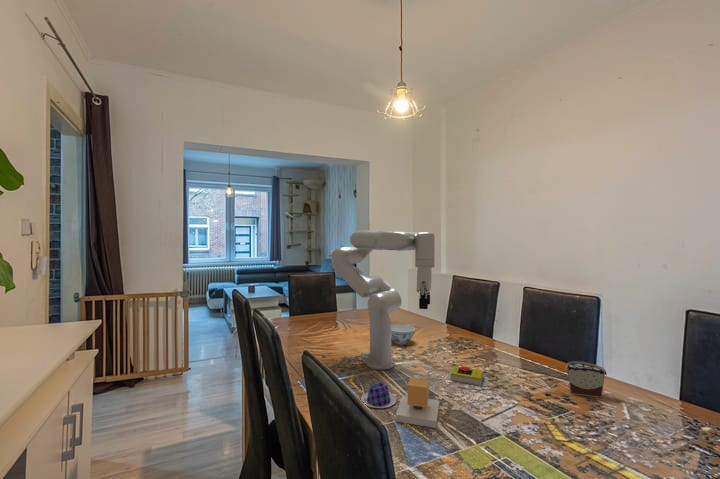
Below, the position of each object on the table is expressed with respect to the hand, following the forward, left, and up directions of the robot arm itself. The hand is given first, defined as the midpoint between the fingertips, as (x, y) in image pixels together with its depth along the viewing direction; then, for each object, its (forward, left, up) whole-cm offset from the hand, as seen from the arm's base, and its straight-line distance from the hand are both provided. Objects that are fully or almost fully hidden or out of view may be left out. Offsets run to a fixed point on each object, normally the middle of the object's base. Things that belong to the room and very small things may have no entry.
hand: (424, 306), depth 130 cm
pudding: (-13, -23, -29) cm, 39 cm away
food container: (+56, +5, -28) cm, 63 cm away
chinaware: (-17, +42, -28) cm, 54 cm away
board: (+1, -28, -28) cm, 40 cm away
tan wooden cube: (+1, -28, -24) cm, 37 cm away
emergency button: (+16, +4, -29) cm, 34 cm away
